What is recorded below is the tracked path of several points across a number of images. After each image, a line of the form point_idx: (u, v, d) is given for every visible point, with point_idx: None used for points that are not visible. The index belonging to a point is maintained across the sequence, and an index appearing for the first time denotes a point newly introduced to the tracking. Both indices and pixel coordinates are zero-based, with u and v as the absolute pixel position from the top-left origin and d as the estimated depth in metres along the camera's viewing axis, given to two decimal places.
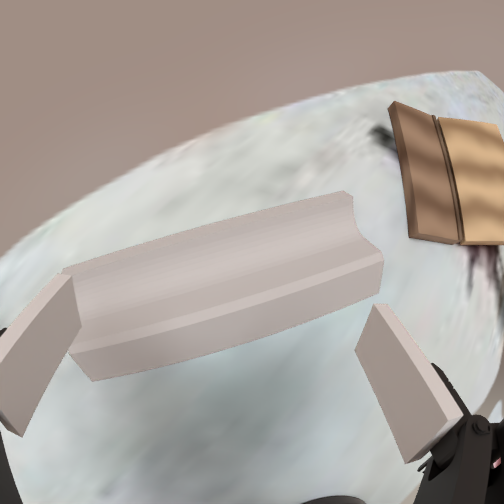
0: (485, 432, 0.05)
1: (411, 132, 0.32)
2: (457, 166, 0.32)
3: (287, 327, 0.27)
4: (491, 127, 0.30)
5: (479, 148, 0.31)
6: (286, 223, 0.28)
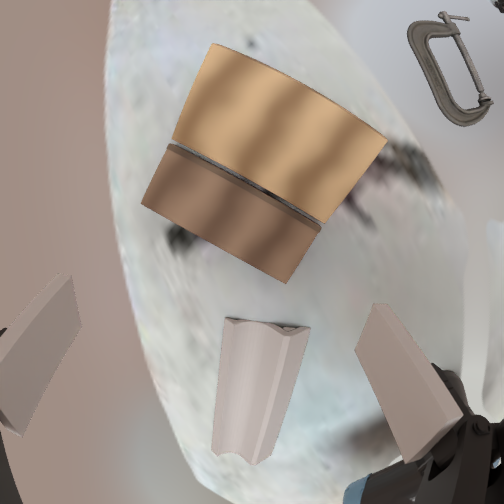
0: (485, 432, 0.05)
1: (184, 211, 0.33)
2: (243, 168, 0.31)
3: (293, 386, 0.41)
4: (213, 58, 0.24)
5: (234, 112, 0.27)
6: (233, 368, 0.39)
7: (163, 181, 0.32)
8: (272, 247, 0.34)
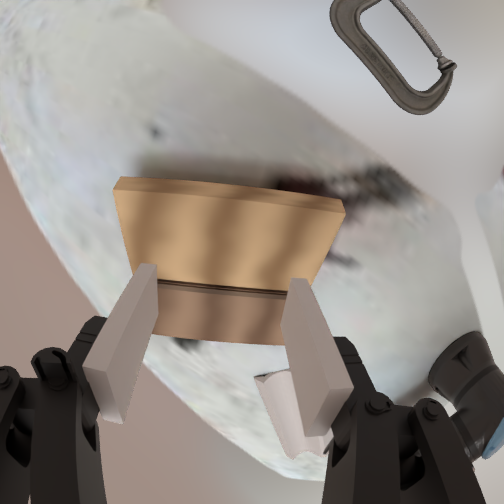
0: (385, 410, 0.06)
1: (179, 327, 0.34)
2: (211, 279, 0.31)
3: None
4: (124, 204, 0.23)
5: (175, 243, 0.27)
6: (277, 406, 0.43)
7: None
8: (268, 326, 0.35)
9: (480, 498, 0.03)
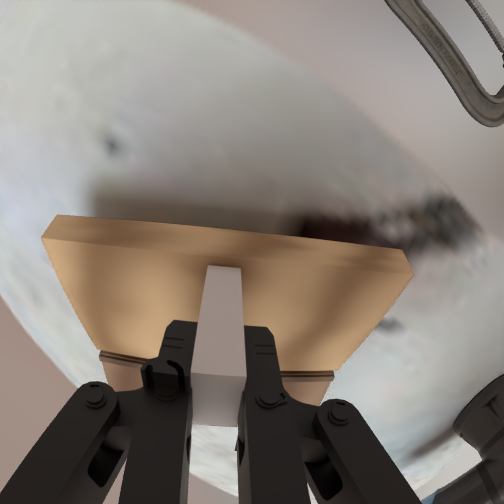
0: (279, 403, 0.07)
1: None
2: None
3: None
4: (60, 260, 0.13)
5: (146, 318, 0.17)
6: None
7: (122, 388, 0.22)
8: None
9: None
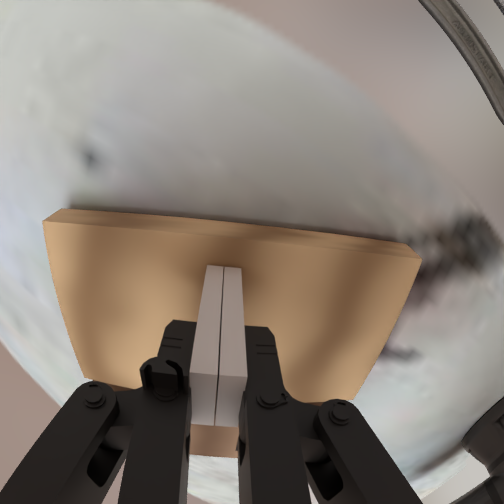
0: (280, 403, 0.07)
1: None
2: None
3: None
4: (58, 250, 0.12)
5: (141, 328, 0.15)
6: None
7: None
8: None
9: None
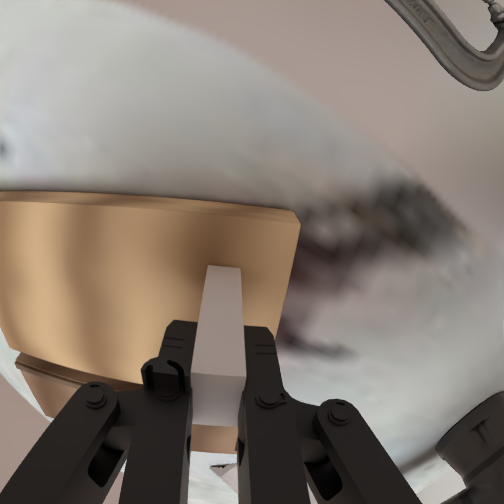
0: (279, 403, 0.07)
1: None
2: (99, 367, 0.16)
3: None
4: None
5: (35, 295, 0.14)
6: None
7: (43, 397, 0.18)
8: (203, 436, 0.20)
9: None
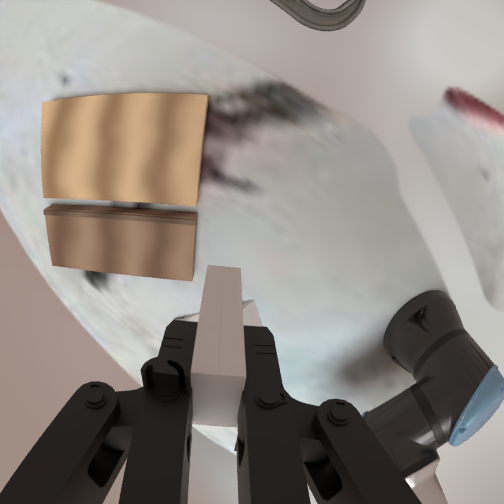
0: (279, 403, 0.07)
1: (83, 257, 0.32)
2: (103, 192, 0.29)
3: None
4: (47, 113, 0.24)
5: (76, 147, 0.26)
6: None
7: (56, 241, 0.31)
8: (162, 255, 0.33)
9: None
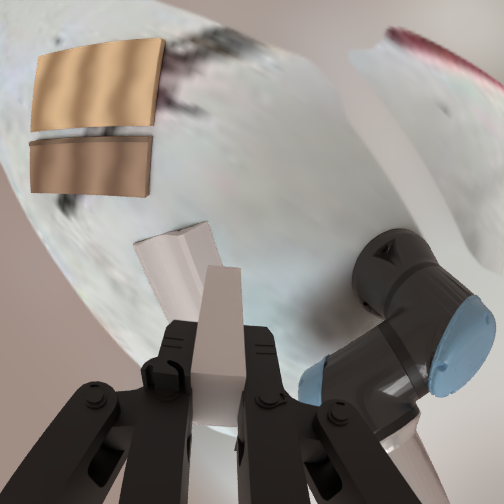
0: (279, 403, 0.07)
1: (55, 181, 0.33)
2: (77, 121, 0.30)
3: None
4: (41, 64, 0.26)
5: (60, 87, 0.28)
6: (163, 288, 0.42)
7: (36, 169, 0.32)
8: (120, 173, 0.34)
9: None
